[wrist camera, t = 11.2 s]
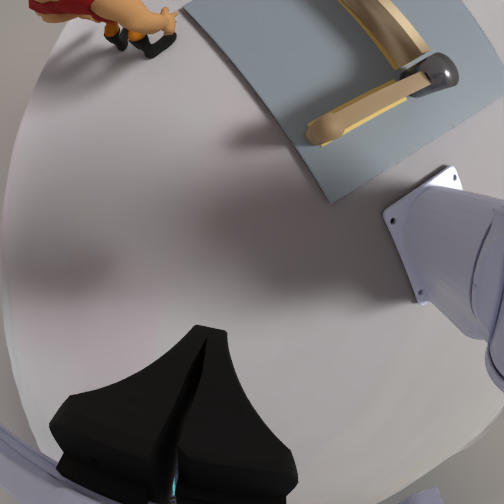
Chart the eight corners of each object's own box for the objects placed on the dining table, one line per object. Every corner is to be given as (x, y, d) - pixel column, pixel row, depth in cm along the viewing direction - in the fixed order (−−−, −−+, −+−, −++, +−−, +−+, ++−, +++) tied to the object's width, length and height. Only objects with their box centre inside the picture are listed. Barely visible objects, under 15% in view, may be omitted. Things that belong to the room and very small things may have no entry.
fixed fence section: (407, 97, 15) (438, 85, 11) (312, 149, 16) (328, 144, 12) (396, 80, 14) (426, 64, 10) (300, 131, 16) (312, 120, 12)
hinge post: (430, 92, 15) (464, 81, 10) (411, 102, 15) (445, 90, 11) (414, 65, 14) (445, 49, 10) (394, 74, 15) (424, 56, 10)
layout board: (511, 89, 13) (515, 88, 13) (329, 203, 18) (331, 204, 18) (407, -52, 9) (409, -55, 8) (184, 9, 14) (182, 5, 13)
